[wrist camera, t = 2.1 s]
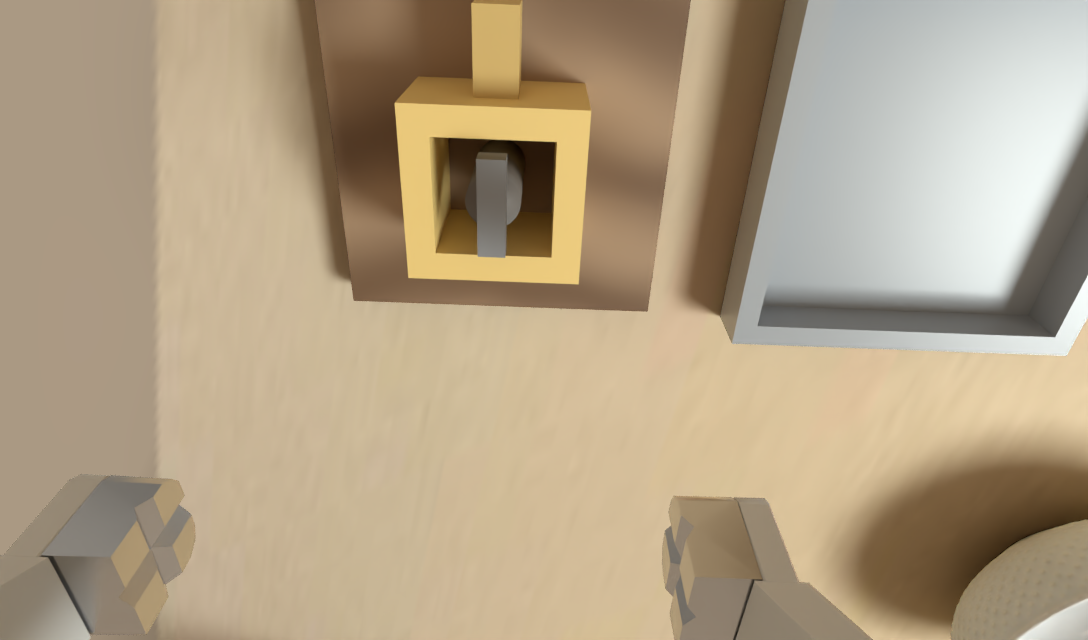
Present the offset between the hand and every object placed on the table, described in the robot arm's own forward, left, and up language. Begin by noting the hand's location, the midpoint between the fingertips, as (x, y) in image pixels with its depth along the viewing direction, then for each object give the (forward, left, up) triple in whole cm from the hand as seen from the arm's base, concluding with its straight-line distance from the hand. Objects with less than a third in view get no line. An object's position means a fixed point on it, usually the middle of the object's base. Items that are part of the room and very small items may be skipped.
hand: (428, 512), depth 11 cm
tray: (0, -19, -21) cm, 28 cm away
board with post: (0, 0, -21) cm, 21 cm away
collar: (+2, 0, -19) cm, 19 cm away
